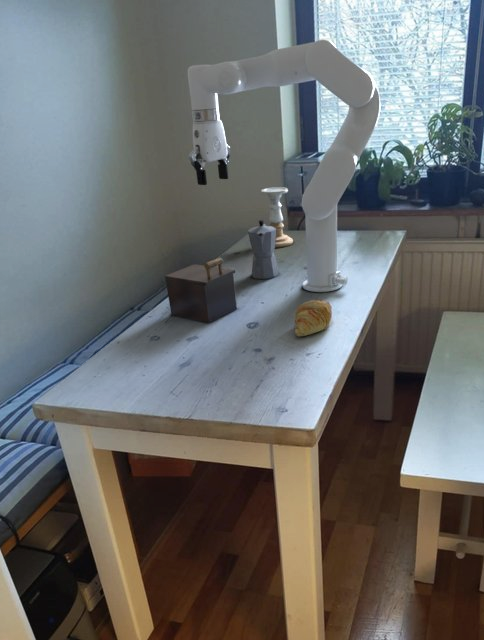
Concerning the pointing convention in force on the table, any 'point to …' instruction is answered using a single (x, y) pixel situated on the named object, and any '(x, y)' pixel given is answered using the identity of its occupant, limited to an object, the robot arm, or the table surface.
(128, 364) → the table surface
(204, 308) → the chest
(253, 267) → the coffeepot
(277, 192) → the candle holder
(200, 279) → the lid
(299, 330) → the croissant
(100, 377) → the table surface
